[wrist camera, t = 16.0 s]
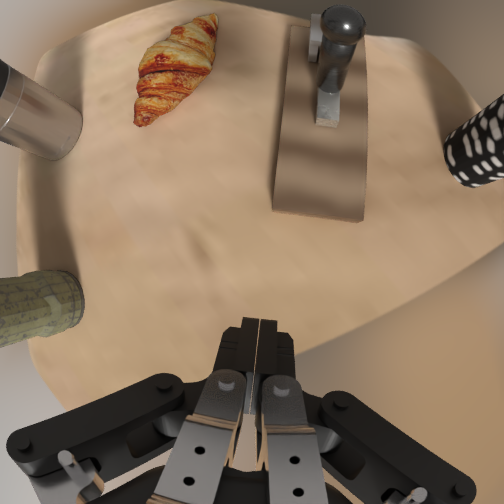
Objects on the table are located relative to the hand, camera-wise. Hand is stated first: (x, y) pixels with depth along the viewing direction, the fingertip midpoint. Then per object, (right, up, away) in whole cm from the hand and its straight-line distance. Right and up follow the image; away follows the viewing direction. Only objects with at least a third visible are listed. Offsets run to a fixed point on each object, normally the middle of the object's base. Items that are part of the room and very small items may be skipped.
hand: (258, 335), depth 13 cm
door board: (+9, +21, +21) cm, 31 cm away
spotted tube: (+29, +17, +20) cm, 39 cm away
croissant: (-10, +29, +24) cm, 39 cm away
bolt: (+9, +24, +18) cm, 31 cm away
